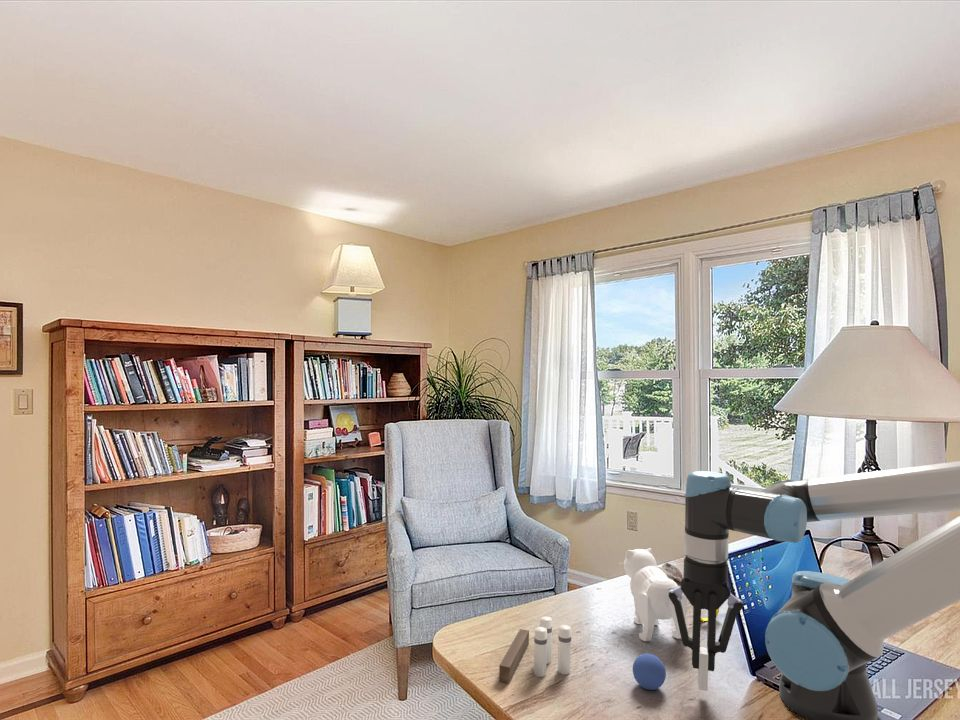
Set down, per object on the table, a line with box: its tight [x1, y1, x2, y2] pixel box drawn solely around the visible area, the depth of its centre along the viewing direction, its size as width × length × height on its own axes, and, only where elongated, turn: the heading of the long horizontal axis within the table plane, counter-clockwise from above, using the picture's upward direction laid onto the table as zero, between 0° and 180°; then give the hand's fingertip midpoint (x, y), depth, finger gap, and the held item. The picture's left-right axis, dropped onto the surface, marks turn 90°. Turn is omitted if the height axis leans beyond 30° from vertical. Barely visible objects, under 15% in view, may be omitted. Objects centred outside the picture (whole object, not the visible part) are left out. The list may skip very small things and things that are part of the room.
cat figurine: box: [617, 547, 688, 642], centre depth 129 cm, size 25×10×17 cm, turn 15°
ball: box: [632, 653, 667, 691], centre depth 107 cm, size 6×6×6 cm
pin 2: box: [533, 626, 547, 678], centre depth 111 cm, size 2×2×8 cm
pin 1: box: [539, 616, 553, 665], centre depth 115 cm, size 2×2×8 cm
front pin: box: [557, 624, 572, 676], centre depth 112 cm, size 2×2×8 cm
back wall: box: [498, 628, 530, 684], centre depth 115 cm, size 2×16×3 cm, turn 162°
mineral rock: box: [657, 562, 683, 586], centre depth 158 cm, size 15×8×4 cm, turn 140°
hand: (702, 686), depth 104 cm, fingers closed
